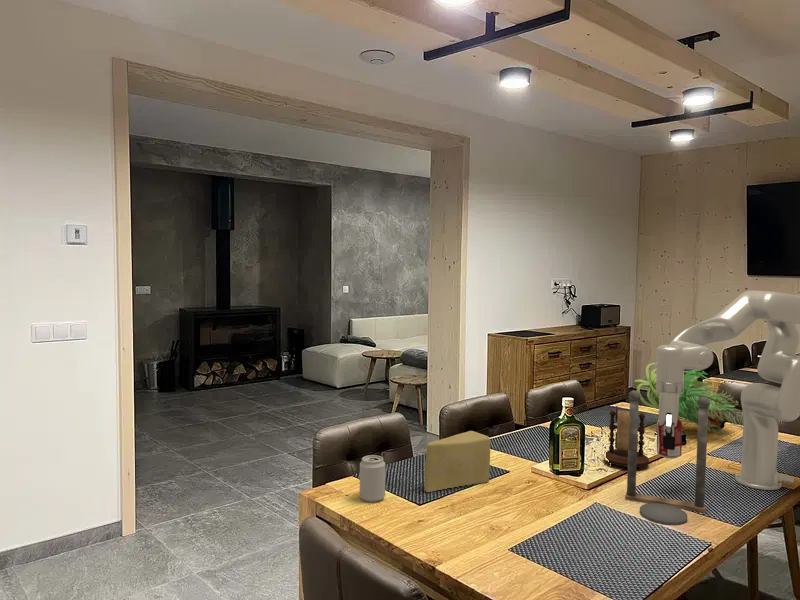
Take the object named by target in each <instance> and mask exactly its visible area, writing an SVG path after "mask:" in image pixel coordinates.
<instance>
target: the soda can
mask: <svg viewBox="0 0 800 600" xmlns="http://www.w3.org/2000/svg"><path fill="white" fill-rule="evenodd" d="M657 419H658V420H656V453H657V455H659V456H660V457H662V458H665V459H677V458H680V457H681V456H682V444H683V443H682V436H683V435H682V434H683V422H681V421H680V420H681V419H680V417H679V416H678V420H677V426H676V427H674V436H675V449H674V450H669V449H663V435H664V424H663V425H661V426H660V425H659V418H657ZM671 419H672V415H671ZM679 419H680V420H679ZM665 425H666V421H665ZM671 426H673V424H671ZM671 429H672V428H671Z"/></svg>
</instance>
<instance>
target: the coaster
mask: <svg viewBox="0 0 800 600" xmlns="http://www.w3.org/2000/svg"><path fill="white" fill-rule="evenodd" d="M639 514H640V516H641V517H642V518H644V519H645V520H648V521H649V522H653V523H656V524H661V525H667V526H677V525H678V526H679V525H684V524H685V523H687V521H688V513H687V512H685V510H684V509H679V508H677V507H674V506H671V505H666V504H660V503H644V504H642V505H640V507H639Z"/></svg>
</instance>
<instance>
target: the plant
mask: <svg viewBox="0 0 800 600" xmlns="http://www.w3.org/2000/svg"><path fill="white" fill-rule="evenodd" d="M652 365H656V362H652V363H648V364H647V365H646V367H645V376H646V378H647V380H645V379H640V378H639V379H635V380H634V381H633V382H632V383H633V384H634V385H636V386H637V387H636V388H637V389H636V391H638V392H639V393H640V399H639V400H640V401H641V403H643V404H644V405H646V407H645V406H644V408H646V409H647V410H648V411H652V412H654V413H657V412H658V410H659V397H660V393H659V392H657V391H656V367H655V368H653V369H652V370H651V373H649V369H650V367H651V366H652ZM705 375H709V374H708V373H707V372H705V371H704V370H691V369H689V370H688V371H687V370H686V371H685V370H684V393H682V394H679V412H678V416H679V417H680V419H679V420H680V421H681V423H684V424H682V427H684V426H686V425H687V423H688V425H689V426H688V427H687V429H689V428H690V427H692V426H693V427H695V426H698V411H699V406H698V404H697V401H698V399H699V398H700V397H707V398H708V399H709V400H710V405H709V407H708V427H707V429H708V431H709V432H710V433H711V430H713V432H714V434H717V435H718V437H720V435H721V439H725V437H726V438H727V439H728V440H729V441H732V440H731V439H730V438H729V437H728V436H730V437H732V435H731V434H729V431H727V430H724V428H725V426H726V425H725V424H726V423H727V422H729V423H731V425H732V426H735V427H736V426H737V427H738V428H740V429H742V430H743V415H740V414H739V412H742V410H740V409H736V408H735V407H736V406H738V407H740V406H741V407H742V405H741V404H739V401H737V400H735V401H734V400H733V397H732V396H731V395H732V394H729V395H727V393H728V392H727V390H726V392H725V393H724V390H722V392H718V391H717V390H721V389H720V388H717V387H714V386H711V385H713V380H711V379H710V381H709V380H708V381H707V379H708V377H706V376H705ZM698 378H701V379H702V380H704V381H705V382H704V381H700V380H698ZM704 378H705V379H704ZM641 387H646V388H647V392H646V395H645V396H646V398H647V399H648V401H649V402H650V403H649V402H648V401H646V400H645V398H644V396H642V394H641V392H640V391H641ZM729 401H730V402H729ZM647 406H648V408H647ZM640 407H642V408H643V406H642V405H640ZM649 407H650V408H649ZM651 408H653V409H651ZM654 409H655V410H654ZM643 414H644V415H645V416H646V413H643ZM732 414H734V415H736V416H733V415H732ZM638 415H640V413H639V412H638ZM649 416H650V417H652V415H649ZM656 417H657V418H656ZM738 417H739V418H738ZM658 419H659V415H658V416H657V415H655V418H649V419H648V418H647V420H650V421H652V420H653V421H658ZM736 420H737V421H736ZM737 422H738V423H737ZM727 435H728V436H727ZM724 436H725V437H724Z"/></svg>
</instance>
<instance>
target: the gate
mask: <svg viewBox="0 0 800 600" xmlns="http://www.w3.org/2000/svg"><path fill="white" fill-rule="evenodd" d="M640 394H641V392H640V393H639V392H638V391H637V389H636V390H635V389H633V390H631V391H629V393H628V398H629V411H630V413H629V443H628V467H627V472H626V473H627V474H626V476H627V477H626V478H627V479H626V492H625V495H624V500H627V501H632V502H637V503H644V504H648V503H660V504H666V505H671V506H674V507H677V508H679V509H681V510H684V511H685V510H686V511H692V512H693V511H694V512H698V513H702V514H703V513H704V514H705V513H706V504H705V497H706V496H705V495H706V493H705V492H706V471H707V470H706V469H707V468H706V467H707V446H708V428H707V427H708V407H709V405H711V404H710V399H708V398H707V397H700V398H699V399H698V401H697V404H698V406H699V411H698V425H697V435H696V436H697V437H696V438H697V441H696V460H695V462H696V463H695V465H696V466H695V483H694V484H695V485H694V486H695V490H694V491H695V492H694V502H691V501H684V500H678V499H672V498H668V497H667V498H665V497H662V496H661V497H660V496H655V495H654V496H653V495H648V494H641V493H637V492H636V491H637V489H636V488H637V487H636V486H637V467H636V466H637V452H638V450H637V437H638V438H639V434H638V433H639V432H638V428H639V414H638V413H639V409H640V405H639V402H640V400H641V399H640Z"/></svg>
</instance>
